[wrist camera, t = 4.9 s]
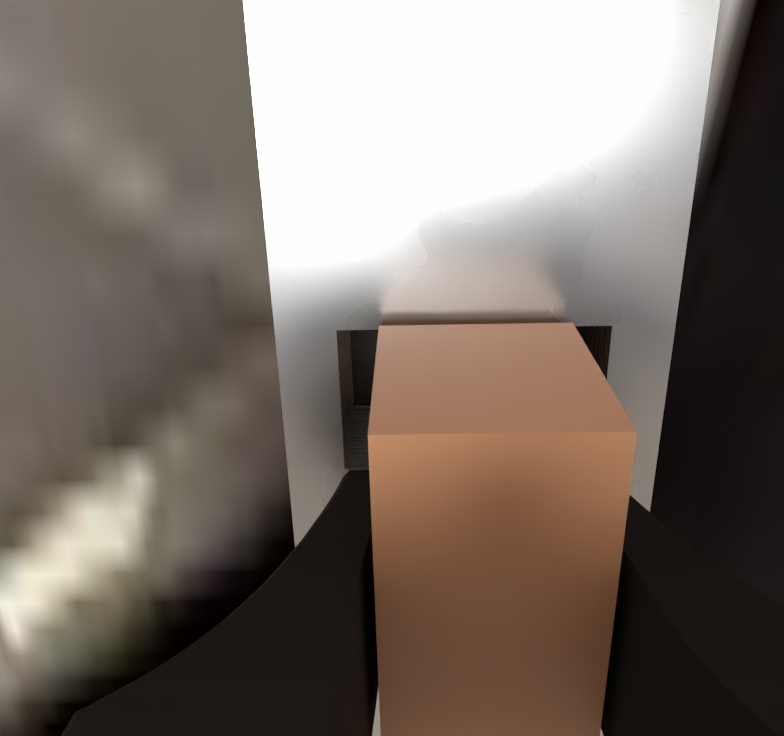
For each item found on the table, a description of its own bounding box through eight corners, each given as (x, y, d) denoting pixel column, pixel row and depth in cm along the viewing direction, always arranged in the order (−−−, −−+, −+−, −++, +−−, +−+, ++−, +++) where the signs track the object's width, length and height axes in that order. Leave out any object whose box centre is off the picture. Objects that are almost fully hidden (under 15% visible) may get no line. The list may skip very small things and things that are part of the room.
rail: (696, -311, 11) (777, -410, 8) (572, 818, 20) (594, 917, 18) (249, -292, 11) (206, -385, 8) (339, 818, 20) (330, 916, 18)
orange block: (545, 275, 14) (637, 431, 8) (528, 555, 16) (589, 817, 11) (383, 279, 14) (367, 434, 8) (392, 557, 16) (383, 817, 11)
